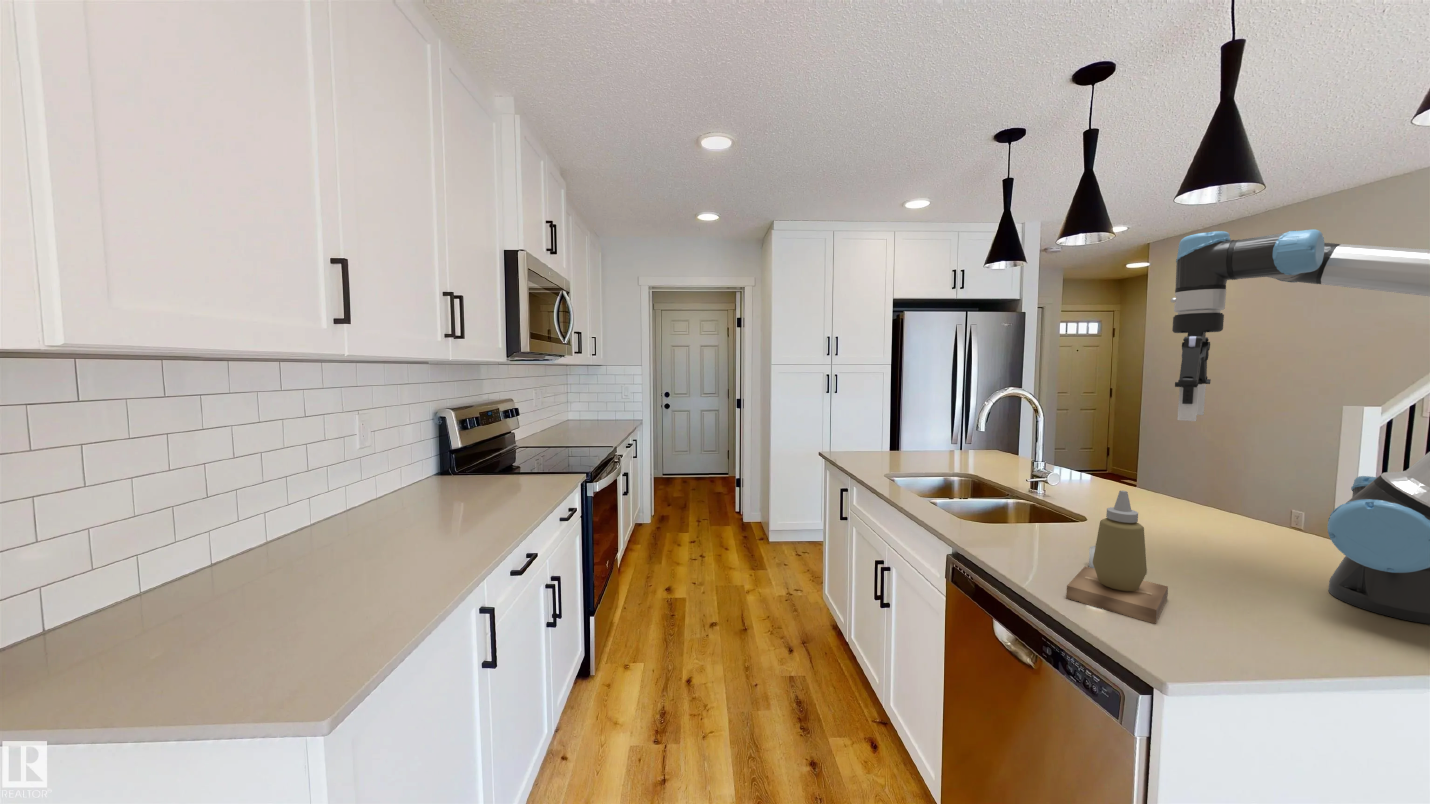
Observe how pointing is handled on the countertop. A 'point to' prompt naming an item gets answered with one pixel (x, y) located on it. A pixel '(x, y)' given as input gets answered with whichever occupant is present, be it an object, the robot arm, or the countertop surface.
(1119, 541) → the squeeze bottle
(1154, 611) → the plate
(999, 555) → the countertop surface
